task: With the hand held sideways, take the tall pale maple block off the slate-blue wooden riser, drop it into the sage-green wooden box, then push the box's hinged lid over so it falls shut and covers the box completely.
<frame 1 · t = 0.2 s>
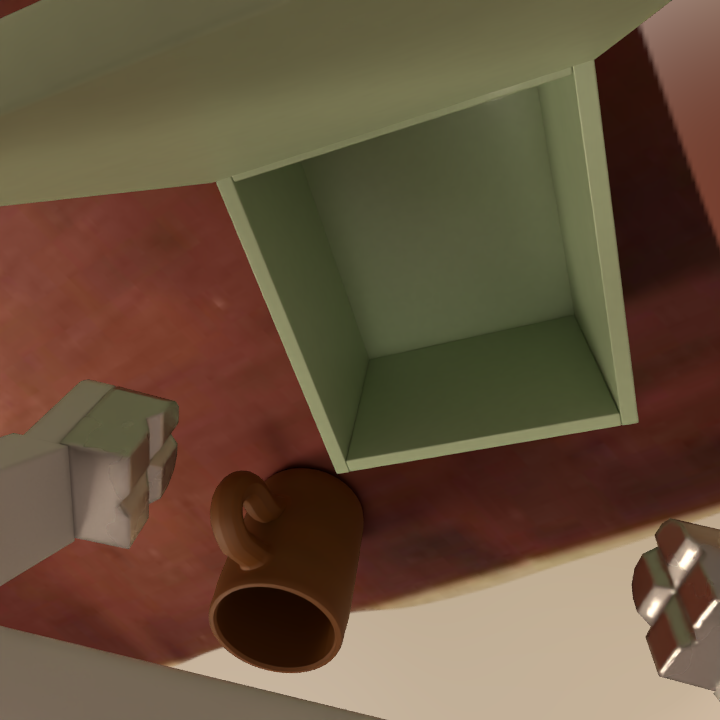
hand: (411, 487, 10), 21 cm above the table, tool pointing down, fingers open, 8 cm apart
box: (439, 227, 29), on the table
box lid: (333, 91, 11), point 17 cm above the table, hinge at 100.0°
mug: (298, 480, 39), on the table
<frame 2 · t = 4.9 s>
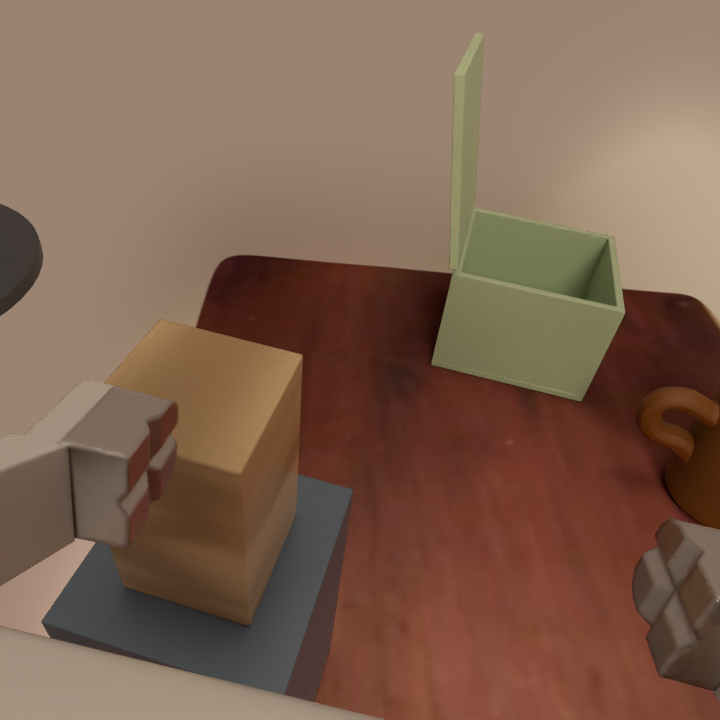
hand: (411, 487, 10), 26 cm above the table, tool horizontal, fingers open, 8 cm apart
box: (509, 341, 56), on the table
riser: (234, 700, 31), on the table
box lid: (466, 150, 46), point 17 cm above the table, hinge at 100.0°
block: (215, 547, 21), point 15 cm above the table, touching riser
mug: (681, 489, 44), on the table
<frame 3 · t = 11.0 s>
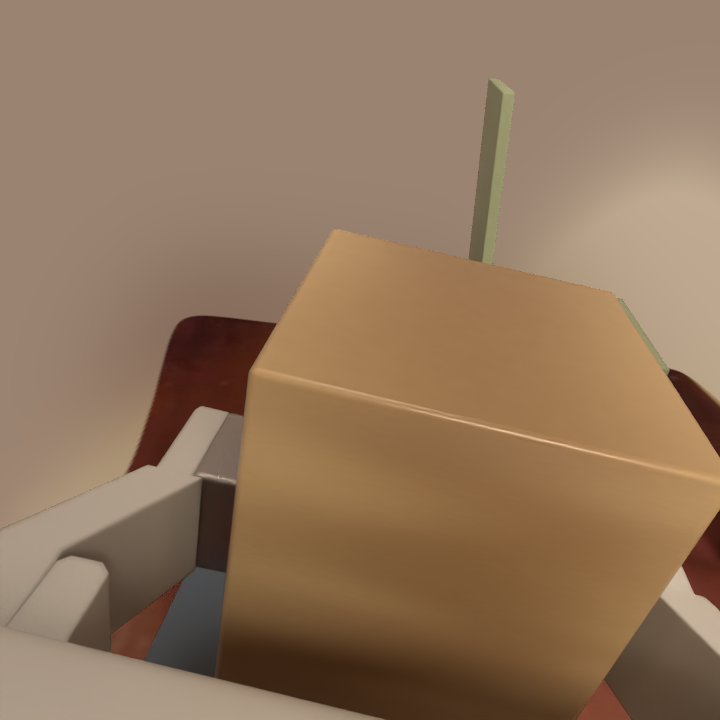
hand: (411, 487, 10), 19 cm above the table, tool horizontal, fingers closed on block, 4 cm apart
box: (518, 411, 50), on the table
box lid: (486, 193, 41), point 17 cm above the table, hinge at 100.0°
block: (357, 691, 11), point 15 cm above the table, touching gripper, riser
when the fingers open (22 cm above the table, at t = 20.0 s): block drops 18 cm, resting on box.
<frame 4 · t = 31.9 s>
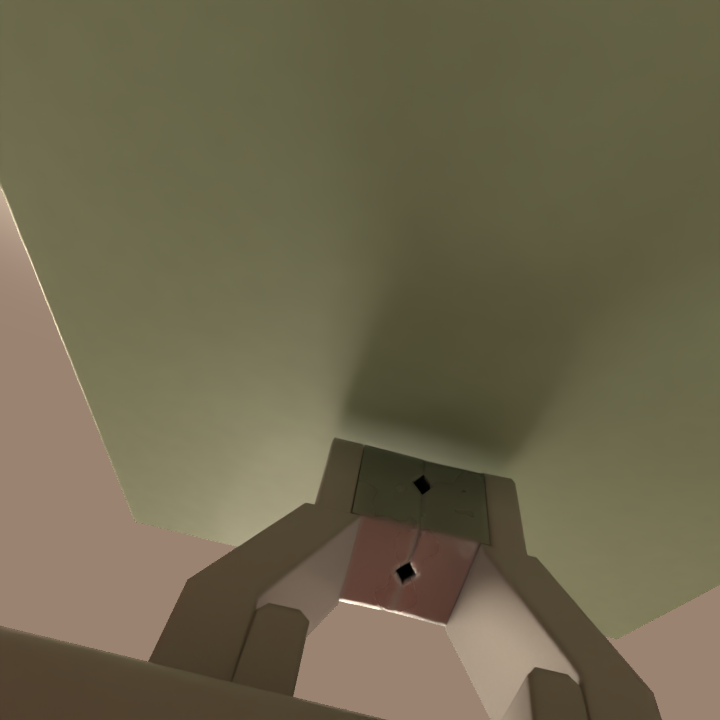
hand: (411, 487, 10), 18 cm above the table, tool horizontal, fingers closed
box lid: (445, 413, 9), point 17 cm above the table, hinge at 69.1°, touching gripper
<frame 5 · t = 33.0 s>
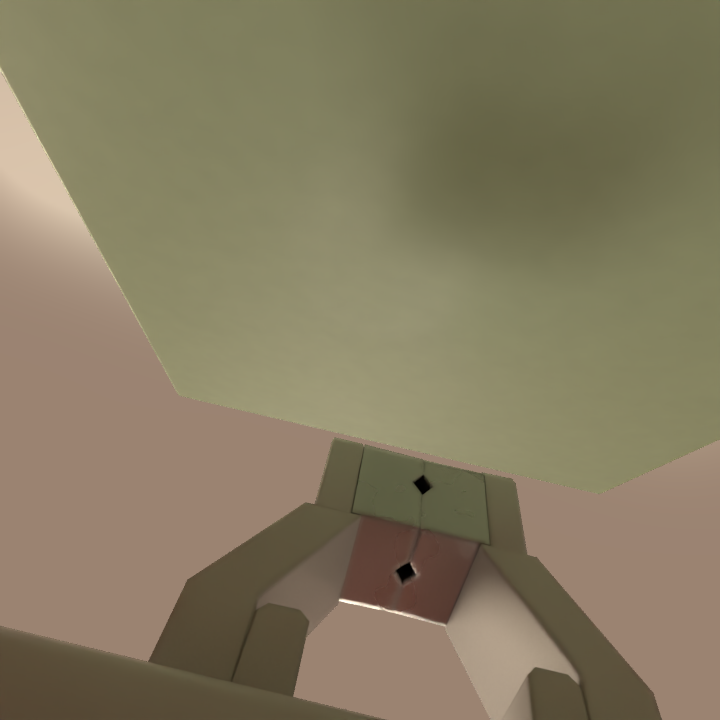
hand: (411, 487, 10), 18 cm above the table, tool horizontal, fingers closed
box lid: (441, 314, 10), point 16 cm above the table, hinge at 54.7°
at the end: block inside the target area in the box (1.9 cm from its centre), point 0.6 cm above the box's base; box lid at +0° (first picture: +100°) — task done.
